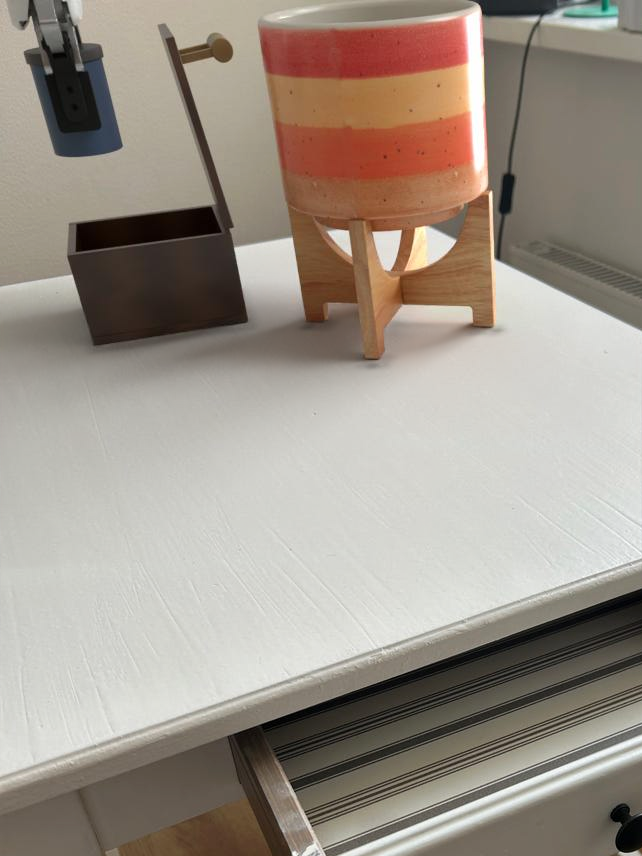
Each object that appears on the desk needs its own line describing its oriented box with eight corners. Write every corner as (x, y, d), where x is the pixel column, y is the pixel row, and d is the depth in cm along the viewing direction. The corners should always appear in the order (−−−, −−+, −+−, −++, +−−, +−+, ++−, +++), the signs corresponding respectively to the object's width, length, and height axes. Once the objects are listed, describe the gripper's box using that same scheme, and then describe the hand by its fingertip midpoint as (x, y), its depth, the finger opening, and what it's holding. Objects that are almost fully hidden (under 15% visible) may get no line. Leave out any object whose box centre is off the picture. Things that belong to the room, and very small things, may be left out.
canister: (42, 159, 78) (12, 55, 74) (64, 144, 82) (37, 45, 78) (114, 155, 78) (88, 51, 73) (133, 140, 82) (109, 41, 78)
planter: (337, 287, 109) (299, 1, 93) (513, 290, 105) (505, -7, 89) (272, 355, 94) (212, 28, 77) (475, 363, 90) (457, 20, 74)
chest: (93, 345, 98) (66, 255, 93) (93, 306, 108) (68, 222, 103) (248, 321, 102) (231, 233, 96) (234, 285, 111) (218, 203, 106)
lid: (165, 38, 86) (229, 23, 86) (157, 24, 95) (215, 11, 96) (226, 229, 96) (283, 214, 97) (213, 200, 106) (265, 186, 106)
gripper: (-37, -158, 74) (40, 111, 85) (-69, -170, 61) (26, 150, 72) (67, -162, 75) (129, 102, 86) (57, -175, 62) (131, 139, 73)
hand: (81, 121), depth 79 cm, fingers closed on canister, 5 cm apart
